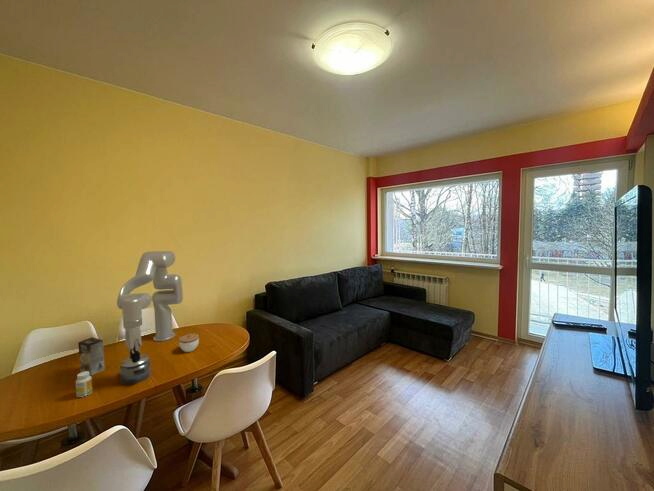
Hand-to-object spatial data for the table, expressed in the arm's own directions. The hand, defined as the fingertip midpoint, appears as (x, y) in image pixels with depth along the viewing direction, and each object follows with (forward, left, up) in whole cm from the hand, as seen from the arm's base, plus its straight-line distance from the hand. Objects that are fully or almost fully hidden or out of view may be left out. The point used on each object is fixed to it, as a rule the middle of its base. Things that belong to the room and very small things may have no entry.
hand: (135, 358), depth 133 cm
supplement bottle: (-1, -19, -10) cm, 21 cm away
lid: (0, 0, -1) cm, 1 cm away
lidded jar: (-11, +29, -10) cm, 32 cm away
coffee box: (-23, -14, -10) cm, 28 cm away
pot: (0, 0, -9) cm, 9 cm away
